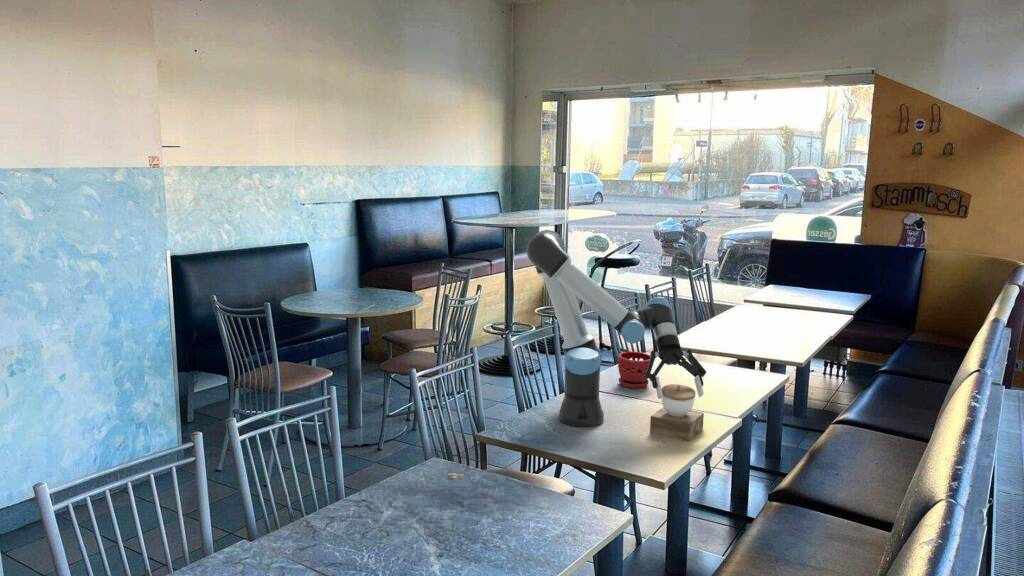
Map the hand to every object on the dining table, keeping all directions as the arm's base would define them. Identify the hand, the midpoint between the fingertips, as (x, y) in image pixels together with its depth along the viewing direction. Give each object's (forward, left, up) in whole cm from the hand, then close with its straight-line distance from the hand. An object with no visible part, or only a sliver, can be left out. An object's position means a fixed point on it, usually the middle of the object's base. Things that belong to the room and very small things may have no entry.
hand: (680, 396), depth 233 cm
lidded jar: (+1, +2, -6) cm, 7 cm away
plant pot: (+31, +42, -12) cm, 53 cm away
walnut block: (+1, +2, -13) cm, 13 cm away
